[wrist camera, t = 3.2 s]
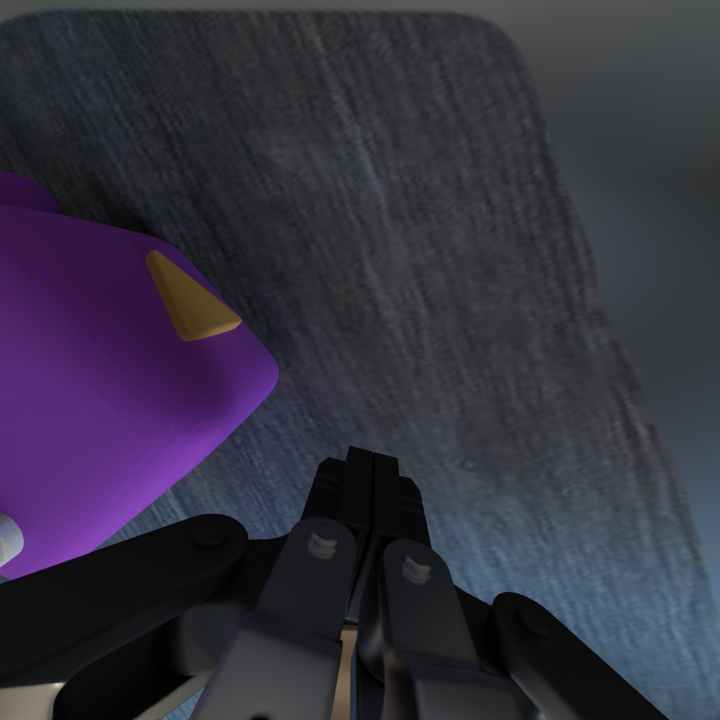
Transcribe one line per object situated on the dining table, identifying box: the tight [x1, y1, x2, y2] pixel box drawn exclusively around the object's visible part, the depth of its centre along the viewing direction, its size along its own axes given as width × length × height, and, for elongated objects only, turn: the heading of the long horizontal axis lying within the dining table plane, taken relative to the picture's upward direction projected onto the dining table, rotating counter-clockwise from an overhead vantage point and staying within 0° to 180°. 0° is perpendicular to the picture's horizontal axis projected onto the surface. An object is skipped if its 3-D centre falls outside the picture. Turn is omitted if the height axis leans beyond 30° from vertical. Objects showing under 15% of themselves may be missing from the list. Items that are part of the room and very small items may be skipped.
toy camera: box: [0, 171, 279, 580], centre depth 14 cm, size 11×14×10 cm
